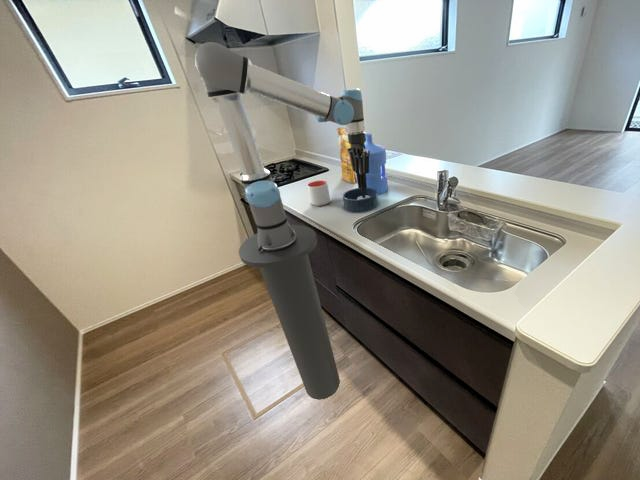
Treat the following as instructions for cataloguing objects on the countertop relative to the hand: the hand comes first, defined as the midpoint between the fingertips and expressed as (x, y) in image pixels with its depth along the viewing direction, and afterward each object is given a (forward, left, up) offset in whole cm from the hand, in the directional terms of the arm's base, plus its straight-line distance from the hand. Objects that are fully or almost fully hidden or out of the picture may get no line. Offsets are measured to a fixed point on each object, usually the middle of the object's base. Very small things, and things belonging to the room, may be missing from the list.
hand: (362, 187), depth 138 cm
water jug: (+17, +14, -10) cm, 24 cm away
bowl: (0, +3, -9) cm, 10 cm away
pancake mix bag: (+21, +41, -10) cm, 47 cm away
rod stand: (0, 0, -6) cm, 6 cm away
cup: (-11, +23, -10) cm, 27 cm away
